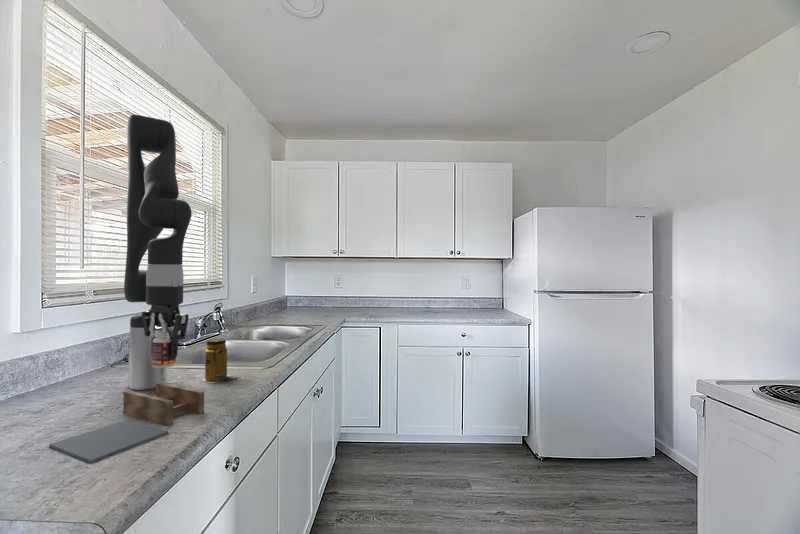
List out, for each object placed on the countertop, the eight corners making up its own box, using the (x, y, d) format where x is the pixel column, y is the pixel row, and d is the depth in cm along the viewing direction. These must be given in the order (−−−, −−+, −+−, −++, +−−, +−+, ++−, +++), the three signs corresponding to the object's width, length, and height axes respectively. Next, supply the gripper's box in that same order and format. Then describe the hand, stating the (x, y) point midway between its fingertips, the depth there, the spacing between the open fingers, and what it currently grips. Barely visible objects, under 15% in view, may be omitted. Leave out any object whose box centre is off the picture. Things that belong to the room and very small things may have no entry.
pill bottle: (165, 369, 91) (165, 332, 91) (147, 367, 92) (147, 331, 92) (180, 364, 96) (181, 328, 96) (163, 362, 97) (163, 328, 96)
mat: (49, 446, 76) (49, 444, 76) (127, 421, 88) (127, 419, 88) (90, 463, 69) (90, 460, 69) (168, 433, 82) (168, 431, 82)
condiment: (199, 379, 122) (200, 340, 122) (226, 374, 128) (227, 336, 128) (210, 384, 117) (211, 343, 117) (238, 378, 123) (238, 339, 124)
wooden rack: (123, 413, 93) (123, 391, 93) (160, 402, 101) (160, 382, 101) (167, 425, 86) (167, 402, 86) (204, 412, 94) (204, 391, 94)
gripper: (129, 283, 93) (129, 356, 94) (169, 285, 87) (168, 363, 87) (161, 282, 100) (160, 350, 100) (200, 284, 94) (199, 357, 94)
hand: (164, 356), depth 94 cm, fingers closed on pill bottle, 4 cm apart
